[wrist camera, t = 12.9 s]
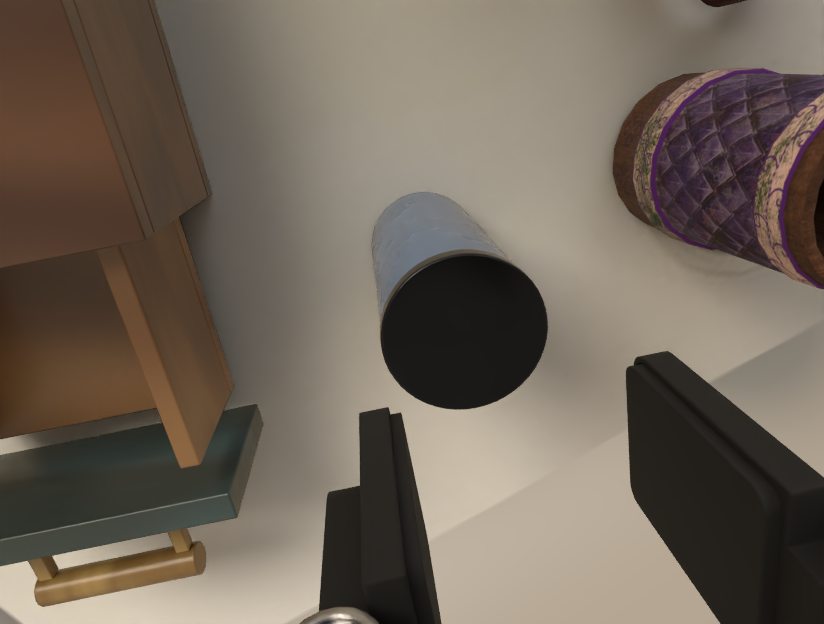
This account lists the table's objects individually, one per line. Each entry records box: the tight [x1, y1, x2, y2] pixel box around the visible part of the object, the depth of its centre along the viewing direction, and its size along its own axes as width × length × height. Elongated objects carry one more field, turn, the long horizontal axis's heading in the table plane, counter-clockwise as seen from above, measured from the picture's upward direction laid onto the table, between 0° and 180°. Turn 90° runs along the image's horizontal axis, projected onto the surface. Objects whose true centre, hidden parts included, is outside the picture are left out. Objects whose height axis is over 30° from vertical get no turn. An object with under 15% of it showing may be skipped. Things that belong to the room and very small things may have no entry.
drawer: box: [0, 217, 263, 607], centre depth 23 cm, size 19×13×7 cm
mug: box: [613, 69, 824, 289], centre depth 21 cm, size 10×7×12 cm
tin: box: [372, 192, 548, 409], centre depth 22 cm, size 5×5×11 cm
